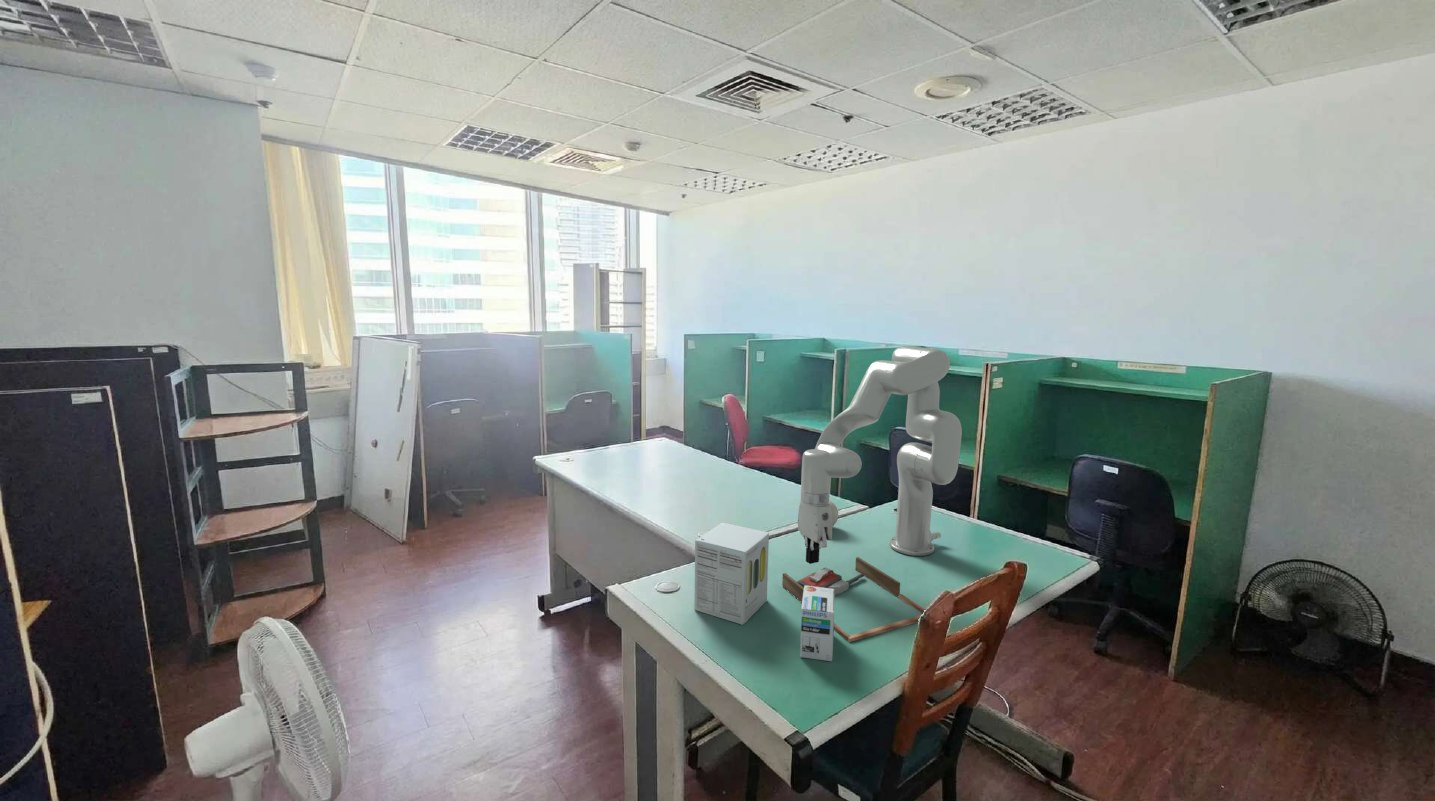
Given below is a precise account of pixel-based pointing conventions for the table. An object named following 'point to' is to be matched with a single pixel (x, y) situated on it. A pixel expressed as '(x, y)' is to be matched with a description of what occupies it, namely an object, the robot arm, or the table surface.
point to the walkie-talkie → (828, 580)
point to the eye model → (833, 513)
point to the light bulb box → (817, 623)
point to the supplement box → (731, 572)
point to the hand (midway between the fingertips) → (812, 561)
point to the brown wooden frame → (876, 577)
